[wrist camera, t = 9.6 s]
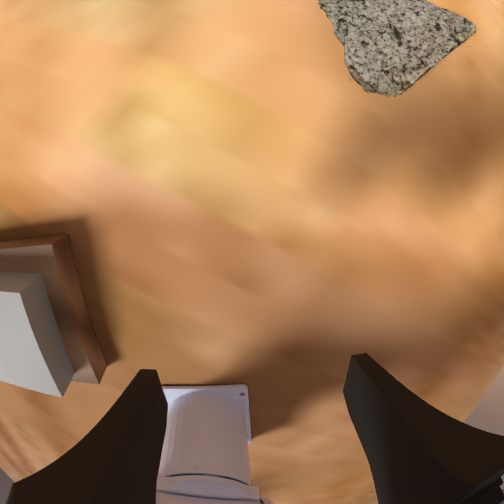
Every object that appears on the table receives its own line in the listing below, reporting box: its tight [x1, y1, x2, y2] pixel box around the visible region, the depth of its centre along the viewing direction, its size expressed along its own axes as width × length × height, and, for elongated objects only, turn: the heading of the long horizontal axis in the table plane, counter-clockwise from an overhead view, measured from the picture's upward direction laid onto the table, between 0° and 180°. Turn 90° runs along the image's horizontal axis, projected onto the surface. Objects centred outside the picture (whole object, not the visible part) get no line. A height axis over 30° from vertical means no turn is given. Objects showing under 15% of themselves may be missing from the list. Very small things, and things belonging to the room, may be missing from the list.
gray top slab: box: [0, 272, 75, 397], centre depth 16 cm, size 9×9×3 cm
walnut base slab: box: [0, 234, 107, 384], centre depth 19 cm, size 12×12×3 cm
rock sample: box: [318, 0, 476, 97], centre depth 12 cm, size 10×8×9 cm
